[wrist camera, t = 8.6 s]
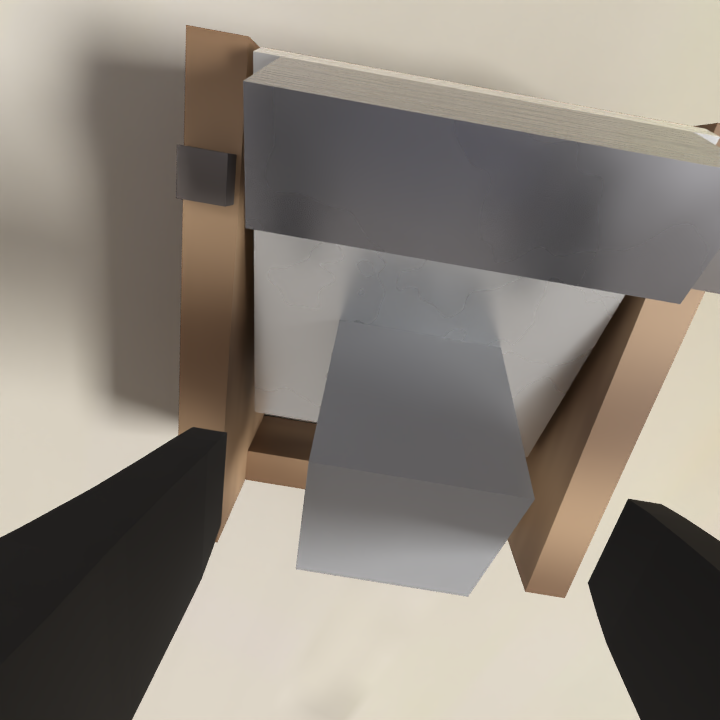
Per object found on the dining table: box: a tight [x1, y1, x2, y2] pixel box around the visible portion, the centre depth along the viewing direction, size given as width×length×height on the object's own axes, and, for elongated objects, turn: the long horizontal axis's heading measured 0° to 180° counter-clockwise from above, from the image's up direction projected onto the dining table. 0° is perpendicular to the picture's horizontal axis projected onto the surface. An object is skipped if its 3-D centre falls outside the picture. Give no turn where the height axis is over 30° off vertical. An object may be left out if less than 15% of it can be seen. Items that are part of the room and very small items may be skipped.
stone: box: [296, 320, 535, 597], centre depth 12 cm, size 4×4×4 cm
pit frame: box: [176, 25, 720, 598], centre depth 14 cm, size 13×12×6 cm
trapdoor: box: [243, 47, 720, 457], centre depth 11 cm, size 10×9×3 cm
